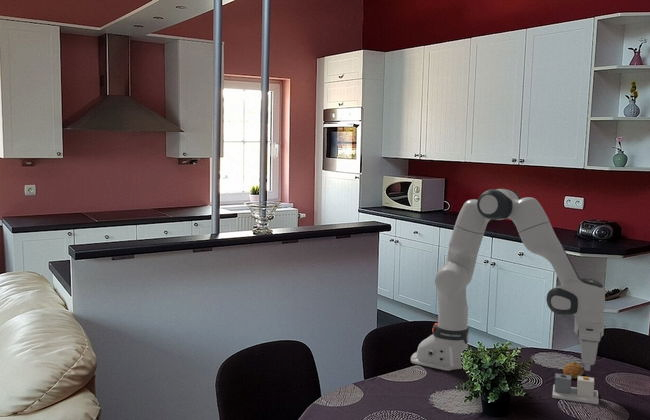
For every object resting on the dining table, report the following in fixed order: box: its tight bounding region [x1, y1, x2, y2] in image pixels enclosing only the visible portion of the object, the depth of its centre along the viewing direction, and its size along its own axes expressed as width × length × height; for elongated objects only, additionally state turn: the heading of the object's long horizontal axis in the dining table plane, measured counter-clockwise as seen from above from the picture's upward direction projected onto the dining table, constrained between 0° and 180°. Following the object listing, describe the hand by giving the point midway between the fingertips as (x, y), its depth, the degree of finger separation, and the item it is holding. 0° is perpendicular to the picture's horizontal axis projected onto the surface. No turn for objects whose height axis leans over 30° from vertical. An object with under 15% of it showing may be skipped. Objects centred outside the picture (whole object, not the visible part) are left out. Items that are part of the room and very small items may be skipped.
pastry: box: [562, 362, 585, 380], centre depth 225 cm, size 9×7×4 cm
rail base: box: [551, 372, 600, 406], centre depth 206 cm, size 14×10×7 cm
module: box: [576, 375, 595, 397], centre depth 205 cm, size 5×4×6 cm
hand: (586, 369), depth 204 cm, fingers closed
